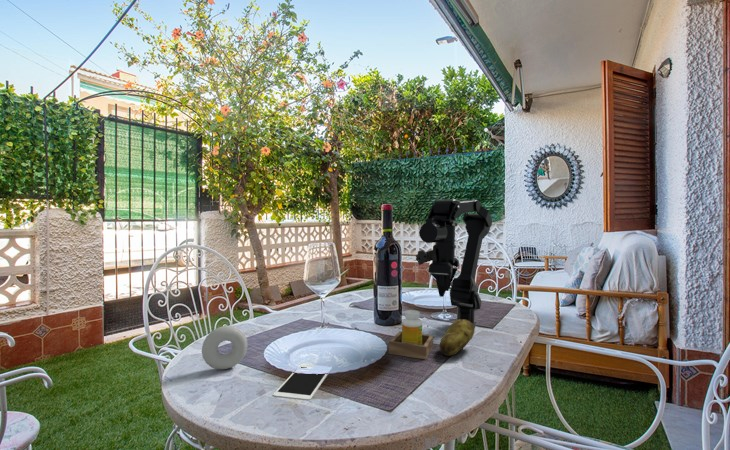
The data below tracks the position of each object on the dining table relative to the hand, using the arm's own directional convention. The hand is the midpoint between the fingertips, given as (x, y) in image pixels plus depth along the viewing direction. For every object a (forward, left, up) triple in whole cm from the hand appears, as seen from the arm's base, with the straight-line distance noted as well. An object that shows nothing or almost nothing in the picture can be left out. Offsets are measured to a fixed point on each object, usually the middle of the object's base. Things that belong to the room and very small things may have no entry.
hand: (444, 293), depth 111 cm
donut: (+44, -43, -13) cm, 63 cm away
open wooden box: (+15, -6, -13) cm, 21 cm away
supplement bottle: (+15, -6, -13) cm, 20 cm away
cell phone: (+42, -23, -14) cm, 50 cm away
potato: (+11, +5, -13) cm, 18 cm away
